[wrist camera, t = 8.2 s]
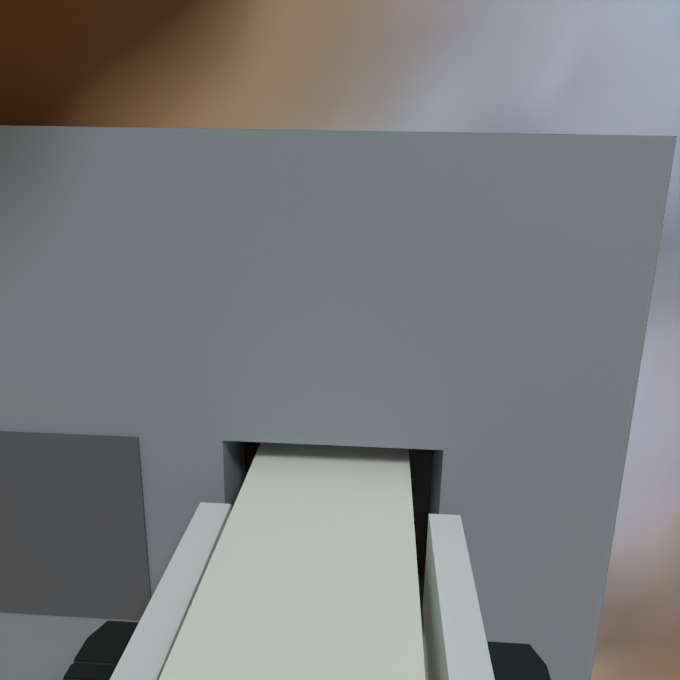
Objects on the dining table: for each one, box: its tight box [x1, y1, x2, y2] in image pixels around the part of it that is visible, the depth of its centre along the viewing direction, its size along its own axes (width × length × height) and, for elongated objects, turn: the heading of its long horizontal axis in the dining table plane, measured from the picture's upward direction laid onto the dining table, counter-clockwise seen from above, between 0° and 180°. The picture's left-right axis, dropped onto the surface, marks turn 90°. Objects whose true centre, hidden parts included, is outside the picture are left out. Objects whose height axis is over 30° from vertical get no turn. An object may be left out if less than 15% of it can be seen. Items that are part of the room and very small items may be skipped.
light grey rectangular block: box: [159, 442, 426, 680], centre depth 14 cm, size 4×4×12 cm
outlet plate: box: [0, 125, 677, 680], centre depth 17 cm, size 16×20×3 cm
